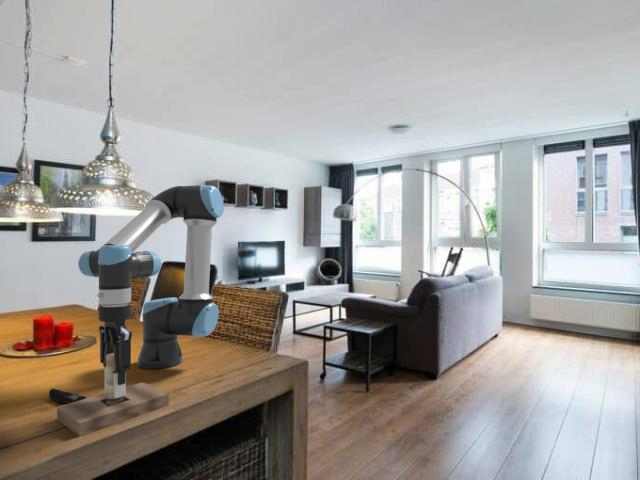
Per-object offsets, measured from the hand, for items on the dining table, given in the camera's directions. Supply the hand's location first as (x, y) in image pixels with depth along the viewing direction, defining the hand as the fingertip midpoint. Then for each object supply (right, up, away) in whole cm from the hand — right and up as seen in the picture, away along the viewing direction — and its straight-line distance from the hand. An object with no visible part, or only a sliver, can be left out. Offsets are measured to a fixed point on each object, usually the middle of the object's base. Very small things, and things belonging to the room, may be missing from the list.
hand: (115, 393), depth 104 cm
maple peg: (0, -4, 0) cm, 4 cm away
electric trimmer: (-16, -5, +6) cm, 17 cm away
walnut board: (0, -5, 0) cm, 5 cm away
